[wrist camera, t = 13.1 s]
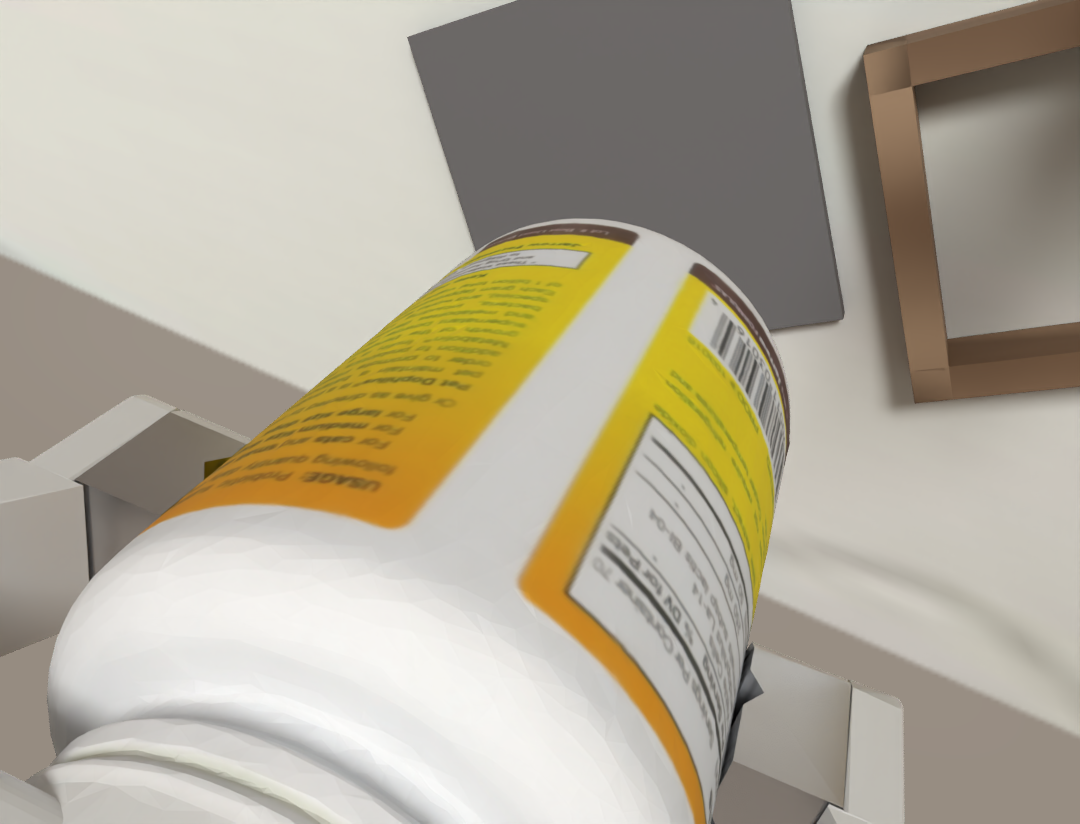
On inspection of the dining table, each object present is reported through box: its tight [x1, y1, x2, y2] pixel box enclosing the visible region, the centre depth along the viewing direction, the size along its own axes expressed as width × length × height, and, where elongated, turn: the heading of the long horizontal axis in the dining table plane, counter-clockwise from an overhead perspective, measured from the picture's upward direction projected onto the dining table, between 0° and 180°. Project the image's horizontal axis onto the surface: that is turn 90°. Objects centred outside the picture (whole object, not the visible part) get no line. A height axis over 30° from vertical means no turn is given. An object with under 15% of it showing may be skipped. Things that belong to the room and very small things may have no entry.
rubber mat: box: [407, 0, 844, 330], centre depth 28 cm, size 11×11×1 cm
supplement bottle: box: [25, 219, 790, 824], centre depth 10 cm, size 6×6×10 cm
